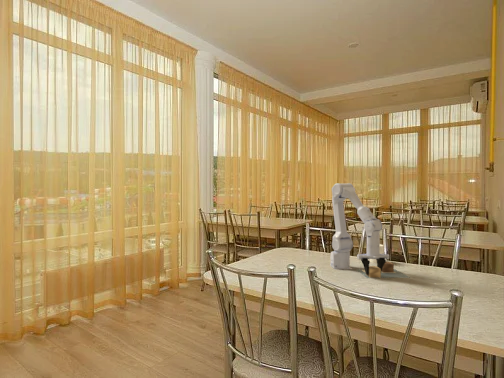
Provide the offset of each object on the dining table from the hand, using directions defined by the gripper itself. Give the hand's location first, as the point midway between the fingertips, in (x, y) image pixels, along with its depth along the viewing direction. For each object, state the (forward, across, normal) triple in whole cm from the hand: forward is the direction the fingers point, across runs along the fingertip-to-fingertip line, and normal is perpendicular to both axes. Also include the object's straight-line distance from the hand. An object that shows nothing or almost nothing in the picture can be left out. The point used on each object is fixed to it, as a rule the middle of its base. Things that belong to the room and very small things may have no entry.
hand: (373, 274), depth 152 cm
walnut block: (+1, +10, +8) cm, 13 cm away
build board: (+1, +6, +4) cm, 7 cm away
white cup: (+2, +13, +27) cm, 30 cm away
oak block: (+1, 0, 0) cm, 1 cm away
